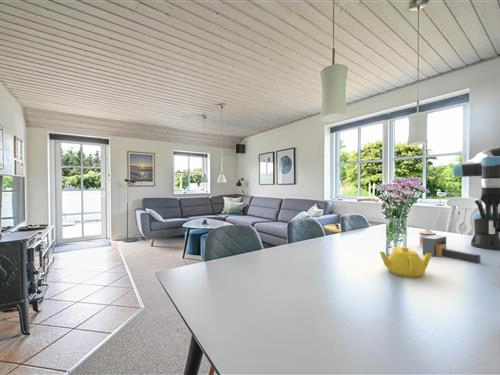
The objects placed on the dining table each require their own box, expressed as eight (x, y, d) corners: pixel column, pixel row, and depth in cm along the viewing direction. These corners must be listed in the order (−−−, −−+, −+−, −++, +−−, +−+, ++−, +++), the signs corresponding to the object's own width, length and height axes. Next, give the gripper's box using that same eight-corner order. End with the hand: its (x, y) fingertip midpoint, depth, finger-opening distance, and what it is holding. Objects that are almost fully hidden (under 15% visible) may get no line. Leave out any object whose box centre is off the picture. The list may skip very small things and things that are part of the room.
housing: (434, 250, 152) (434, 234, 152) (446, 253, 147) (446, 236, 147) (422, 254, 146) (422, 237, 145) (434, 256, 140) (434, 239, 140)
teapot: (416, 282, 104) (416, 254, 104) (377, 271, 118) (377, 246, 118) (432, 274, 114) (432, 248, 114) (395, 264, 127) (394, 241, 127)
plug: (434, 252, 149) (434, 242, 149) (481, 262, 130) (481, 250, 130) (429, 253, 146) (429, 243, 146) (476, 263, 127) (476, 252, 127)
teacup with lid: (416, 245, 166) (416, 228, 166) (424, 243, 170) (423, 227, 170) (436, 249, 155) (436, 231, 155) (443, 247, 159) (443, 229, 159)
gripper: (471, 187, 127) (472, 232, 128) (507, 187, 116) (507, 236, 116) (478, 187, 131) (478, 231, 131) (512, 187, 120) (512, 235, 120)
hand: (491, 233), depth 124 cm, fingers closed
